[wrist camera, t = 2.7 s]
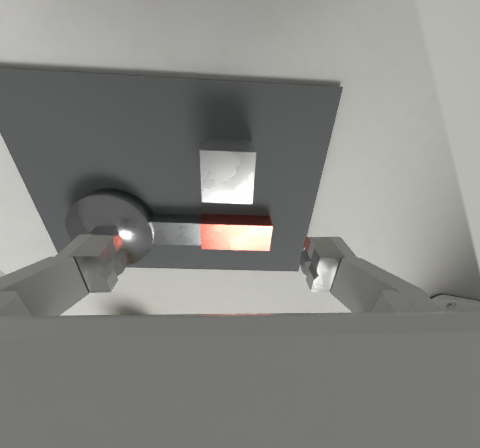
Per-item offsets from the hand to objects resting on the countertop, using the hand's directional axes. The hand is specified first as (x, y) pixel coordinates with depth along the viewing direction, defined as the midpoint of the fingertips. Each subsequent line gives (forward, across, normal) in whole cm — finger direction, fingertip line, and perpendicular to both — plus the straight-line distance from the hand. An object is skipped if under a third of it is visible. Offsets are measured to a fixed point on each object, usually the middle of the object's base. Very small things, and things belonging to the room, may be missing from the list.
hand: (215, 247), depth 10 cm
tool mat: (+16, +5, +4) cm, 17 cm away
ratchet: (+15, +6, +8) cm, 18 cm away
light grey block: (+15, -1, 0) cm, 15 cm away
